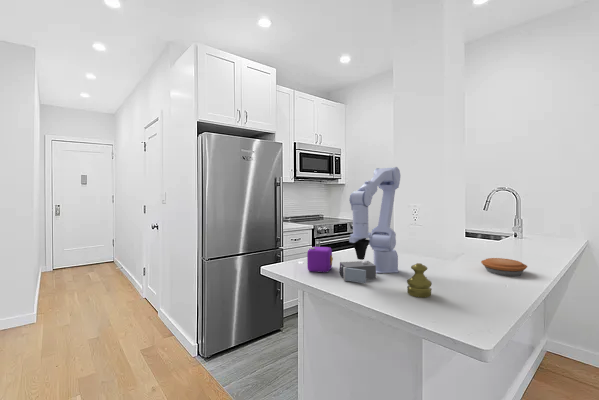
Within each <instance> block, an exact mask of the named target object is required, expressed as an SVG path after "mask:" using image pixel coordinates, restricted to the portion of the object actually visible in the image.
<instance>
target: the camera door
mask: <svg viewBox="0 0 599 400" xmlns="http://www.w3.org/2000/svg"><path fill="white" fill-rule="evenodd" d="M343 276H344V278H343V281H348V282H353V283H361V284H367V279H366V270H361V269H353V268H347V267H343Z"/></svg>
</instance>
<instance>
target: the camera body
mask: <svg viewBox="0 0 599 400" xmlns="http://www.w3.org/2000/svg"><path fill="white" fill-rule="evenodd" d="M343 267H347V268H353V269H361V270H366V280H371V279H372V280H375V279H376V278H377V273H376V265H374V263H372V262H371V261H369V260H358V261H340V262H339V269H338V270H339V275H340V277H342V278H343V279H344V276H343Z"/></svg>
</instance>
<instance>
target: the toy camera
mask: <svg viewBox="0 0 599 400" xmlns="http://www.w3.org/2000/svg"><path fill="white" fill-rule="evenodd" d="M306 257H307V258H306V259H307V260H306V261H307V262H306V263H307V271H309V272H313V273H315V272H316V273H328V272H330V271H331V269H332V267H333V260H334V257H333V249H332V248H331V247H330V246H329V247H328V246H312V247H310V248H309V249H308V250H307V254H306Z"/></svg>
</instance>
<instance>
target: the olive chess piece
mask: <svg viewBox="0 0 599 400" xmlns="http://www.w3.org/2000/svg"><path fill="white" fill-rule="evenodd" d="M410 269H411V270H413V272H414V274H412V275H411V276H410V277H409V278H407V280H406V283H407V287H406V289H407V290H406V291H407V294H408V295H409V296H411V297H414V298H422V299H425V298H431V296H432V285H433V284H432V281H431V280H430V279H428V278H427V276H426V275H425V272H426V271H428V267H427V266H426V265H423V264H422V263H418V262H417V263H416V264H412V265H411V266H410Z"/></svg>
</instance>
